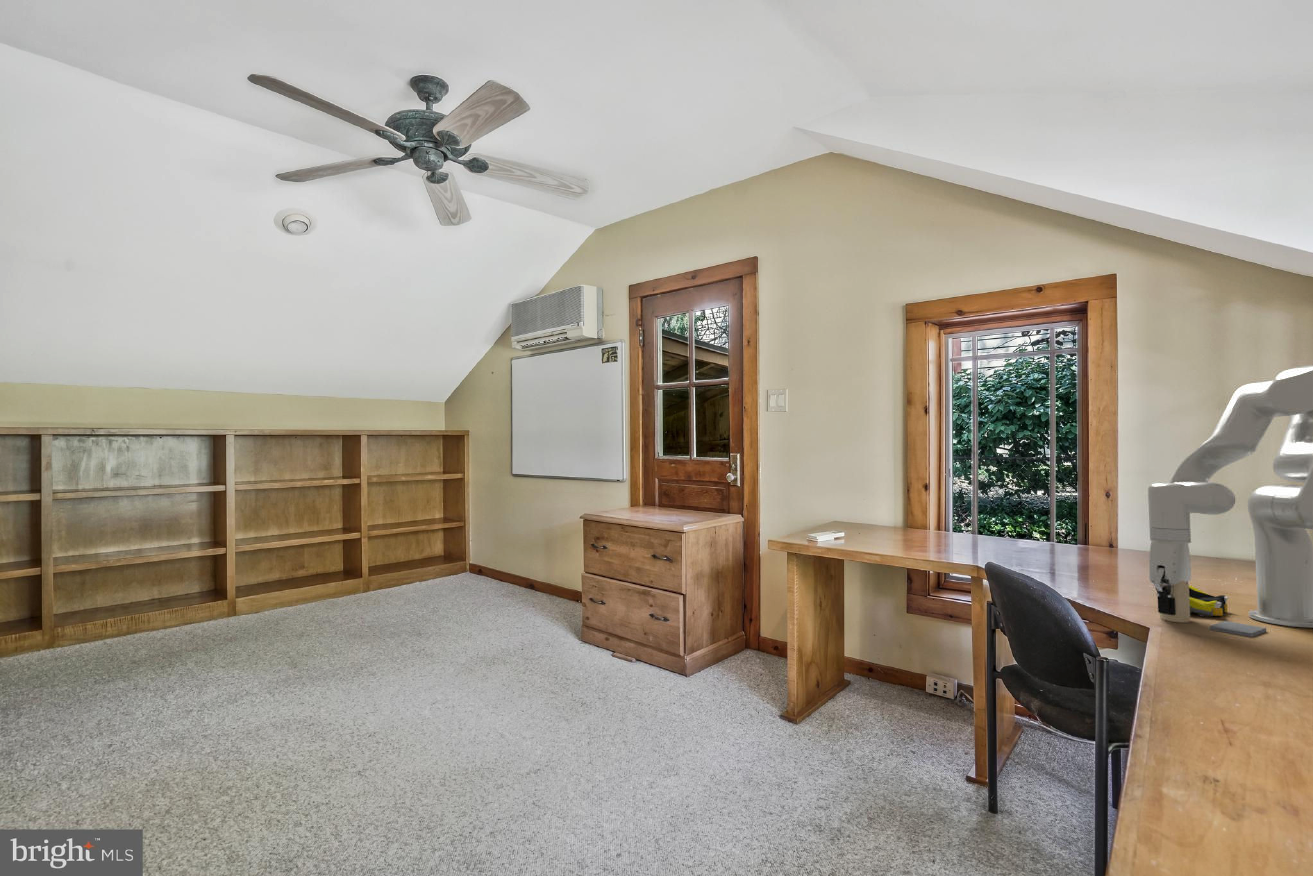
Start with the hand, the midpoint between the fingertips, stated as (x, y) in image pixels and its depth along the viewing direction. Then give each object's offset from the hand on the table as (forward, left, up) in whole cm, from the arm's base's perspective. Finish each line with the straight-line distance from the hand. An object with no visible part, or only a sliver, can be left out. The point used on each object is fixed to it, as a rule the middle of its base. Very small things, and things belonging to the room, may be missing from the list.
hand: (1173, 611), depth 147 cm
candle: (0, 0, -2) cm, 2 cm away
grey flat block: (-1, +11, -2) cm, 12 cm away
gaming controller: (-14, 0, -2) cm, 14 cm away
